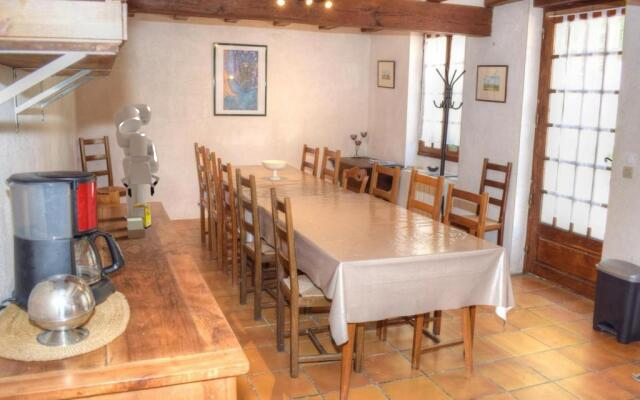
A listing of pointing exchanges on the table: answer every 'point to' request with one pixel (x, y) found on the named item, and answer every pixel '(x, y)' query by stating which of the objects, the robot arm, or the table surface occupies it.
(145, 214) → the supplement box
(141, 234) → the walnut slab
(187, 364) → the table surface
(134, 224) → the cream square block
